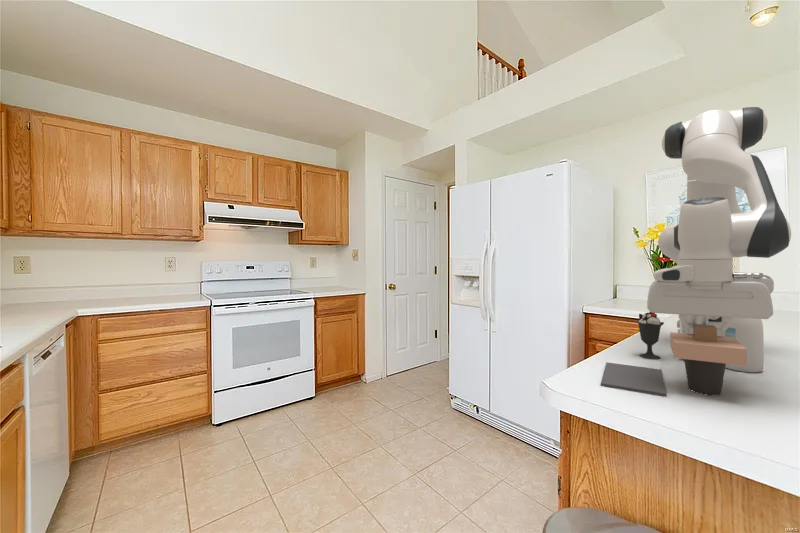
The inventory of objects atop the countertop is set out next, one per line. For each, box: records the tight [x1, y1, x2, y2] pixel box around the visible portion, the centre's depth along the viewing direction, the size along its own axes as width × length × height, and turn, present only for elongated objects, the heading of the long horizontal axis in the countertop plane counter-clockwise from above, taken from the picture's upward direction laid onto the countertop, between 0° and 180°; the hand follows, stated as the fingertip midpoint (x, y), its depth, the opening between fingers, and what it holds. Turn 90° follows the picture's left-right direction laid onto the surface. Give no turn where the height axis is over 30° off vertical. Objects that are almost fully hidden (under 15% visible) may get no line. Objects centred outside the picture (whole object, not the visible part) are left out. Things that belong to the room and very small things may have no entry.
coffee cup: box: [683, 359, 726, 396], centre depth 74 cm, size 8×8×10 cm
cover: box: [669, 324, 747, 366], centre depth 74 cm, size 11×11×6 cm
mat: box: [600, 362, 667, 397], centre depth 83 cm, size 18×12×1 cm, turn 145°
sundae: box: [635, 311, 665, 360], centre depth 99 cm, size 7×7×15 cm
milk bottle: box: [721, 317, 765, 374], centre depth 87 cm, size 8×8×20 cm
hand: (704, 336), depth 74 cm, fingers closed on cover, 3 cm apart
